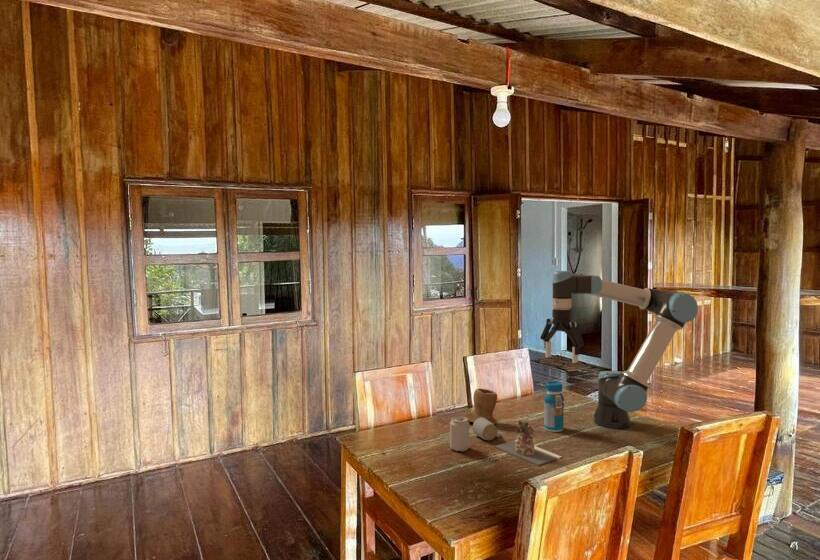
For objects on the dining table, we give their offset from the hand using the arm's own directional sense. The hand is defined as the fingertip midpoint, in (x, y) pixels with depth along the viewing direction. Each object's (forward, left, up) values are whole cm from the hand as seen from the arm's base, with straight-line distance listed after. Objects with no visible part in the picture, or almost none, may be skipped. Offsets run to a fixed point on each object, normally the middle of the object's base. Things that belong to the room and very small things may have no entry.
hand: (561, 359), depth 221 cm
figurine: (+27, +5, -31) cm, 42 cm away
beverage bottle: (-3, -6, -32) cm, 33 cm away
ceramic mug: (+27, -16, -32) cm, 44 cm away
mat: (+27, +5, -32) cm, 42 cm away
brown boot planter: (+16, -31, -32) cm, 47 cm away
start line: (+20, +5, -32) cm, 38 cm away
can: (+44, -13, -32) cm, 56 cm away
